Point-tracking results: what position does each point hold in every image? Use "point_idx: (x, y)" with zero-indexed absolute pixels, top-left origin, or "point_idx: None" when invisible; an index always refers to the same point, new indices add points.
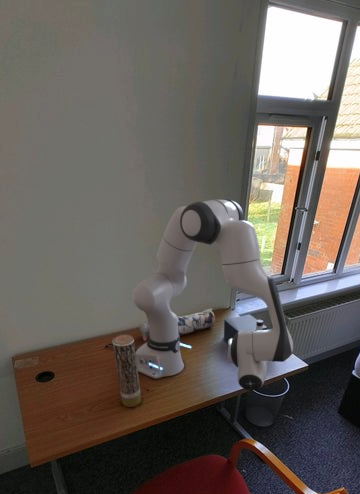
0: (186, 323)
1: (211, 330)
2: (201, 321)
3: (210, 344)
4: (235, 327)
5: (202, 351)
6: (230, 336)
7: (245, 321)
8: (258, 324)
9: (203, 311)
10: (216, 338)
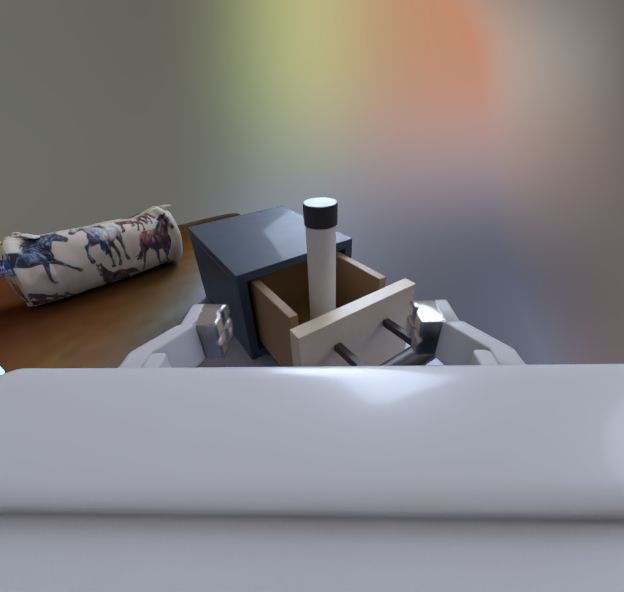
0: (58, 256)
1: (177, 271)
2: (127, 245)
3: (148, 325)
4: (219, 251)
5: (96, 367)
6: (215, 289)
7: (265, 226)
8: (314, 219)
9: (140, 214)
10: (181, 297)
